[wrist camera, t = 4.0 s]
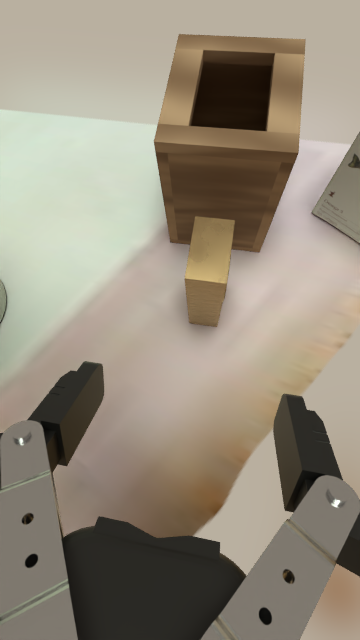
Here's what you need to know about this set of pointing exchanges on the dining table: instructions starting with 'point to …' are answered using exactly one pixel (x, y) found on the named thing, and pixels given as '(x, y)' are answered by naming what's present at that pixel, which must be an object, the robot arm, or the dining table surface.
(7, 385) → the dining table surface
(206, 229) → the gold rectangular block
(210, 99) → the brown wooden bin
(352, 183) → the supplement box
